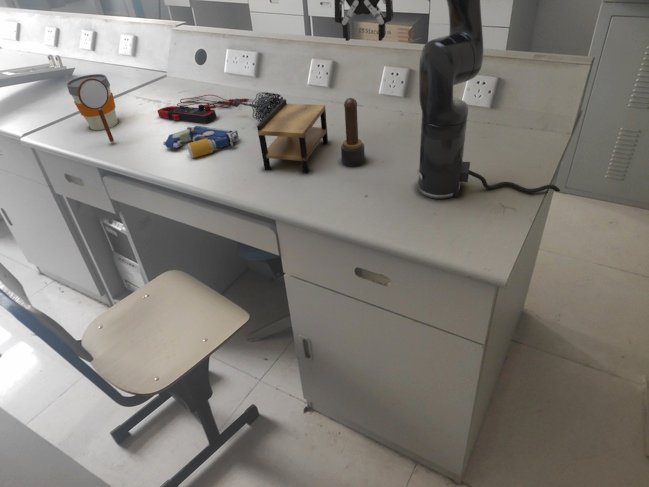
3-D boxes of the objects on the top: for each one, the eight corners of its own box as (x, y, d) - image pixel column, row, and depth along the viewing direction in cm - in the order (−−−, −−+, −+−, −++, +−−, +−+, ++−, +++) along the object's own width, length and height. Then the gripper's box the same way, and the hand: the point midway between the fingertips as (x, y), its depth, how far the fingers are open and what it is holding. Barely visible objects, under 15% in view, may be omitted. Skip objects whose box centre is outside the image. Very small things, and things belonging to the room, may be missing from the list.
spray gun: (212, 163, 125) (244, 141, 135) (208, 149, 122) (241, 127, 133) (157, 153, 134) (191, 133, 144) (152, 140, 131) (187, 121, 142)
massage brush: (248, 111, 154) (243, 83, 148) (300, 121, 144) (297, 91, 138) (229, 121, 148) (223, 93, 142) (282, 132, 138) (278, 102, 132)
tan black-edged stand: (328, 142, 130) (324, 100, 122) (307, 173, 116) (302, 128, 109) (289, 140, 133) (283, 99, 126) (264, 169, 120) (256, 126, 112)
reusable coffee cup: (80, 125, 156) (61, 81, 147) (116, 114, 162) (100, 71, 153) (90, 135, 148) (71, 90, 139) (128, 124, 154) (111, 79, 145)
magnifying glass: (101, 150, 139) (74, 84, 126) (99, 148, 139) (71, 83, 127) (127, 139, 143) (103, 74, 131) (124, 138, 144) (100, 74, 132)
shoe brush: (367, 157, 121) (365, 94, 111) (361, 167, 117) (359, 103, 106) (345, 155, 123) (341, 93, 112) (339, 166, 118) (334, 102, 108)
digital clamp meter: (209, 113, 143) (150, 106, 152) (213, 127, 145) (154, 119, 155) (250, 88, 159) (194, 82, 169) (252, 100, 162) (197, 94, 171)
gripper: (328, -30, 105) (333, 44, 115) (389, -34, 101) (389, 44, 111) (337, -35, 111) (341, 36, 120) (395, -39, 107) (394, 35, 116)
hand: (364, 40), depth 116 cm, fingers open, 8 cm apart
